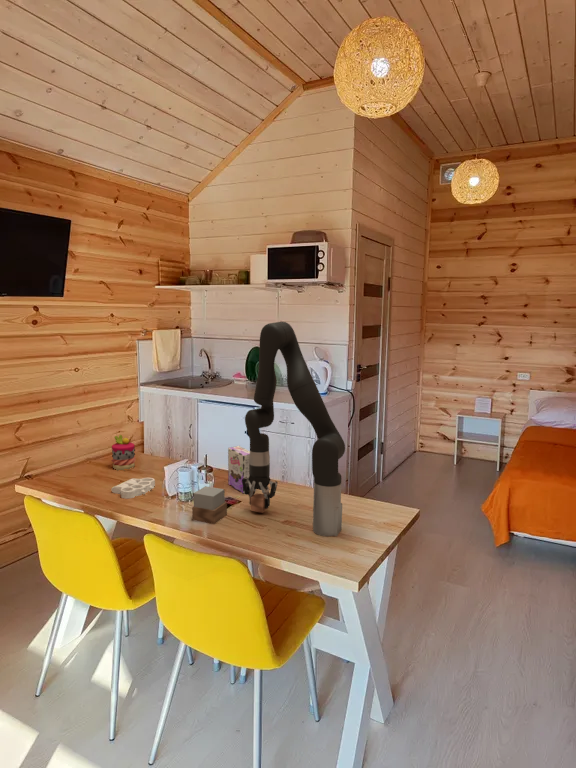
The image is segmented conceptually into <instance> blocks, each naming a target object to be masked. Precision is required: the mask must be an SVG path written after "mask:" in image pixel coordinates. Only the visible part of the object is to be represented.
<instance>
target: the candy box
mask: <svg viewBox="0 0 576 768" xmlns="http://www.w3.org/2000/svg"><path fill="white" fill-rule="evenodd" d="M227 451H228V452H227V453H228V455H227V459H228V460H227V461H228V462H227V463H228V464H227V465H228V466H227V467H228V468H227V469H228V471H227V472H228V473H227V475H228V477H227V480H228V481H227V482H228V483H227V484H228V485H229V486H230V485H231V487H232V488H233V489H236V490H237V491H238V492H240V493H241V492H242V493H241V494H243V493H244V488H243V484H242V479H243V478H245V477H247V478H249V476H250V474H249V454H250V450H248V449H246V448H244V447H242V446H241V445H237V446H231V447H228V449H227ZM251 486H252V485H251V483H250V481H249V487H250V489H251ZM244 494H245V493H244Z"/></svg>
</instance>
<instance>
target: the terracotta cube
mask: <svg viewBox="0 0 576 768" xmlns="http://www.w3.org/2000/svg"><path fill="white" fill-rule="evenodd" d="M269 507H270V506H269ZM269 507H268V508H267V509H265V497H264V494H263V493H259V492H258V493H257V492H255V494H254V495H253V496H252V497H251V505H250V511H251V512H258V513H263V514H264V512H266V511H267V510H268V509H269Z"/></svg>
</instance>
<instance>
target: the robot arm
mask: <svg viewBox="0 0 576 768" xmlns="http://www.w3.org/2000/svg"><path fill="white" fill-rule="evenodd" d="M260 331H261V332H260V335H259V347H258V348H259V352H258V354H259V355H258V373H257V377H256V378H257V379H256V380H257V381H256V384H255V389H254V395H253V401H254V403H255V404H256V405H259V406H261V407H260V408H254V409H249V410H248V411H247V412H246V413H245V415H244V423H245V424H244V425H245V426H246V427H245V428H246V431H247V435H248V438H249V451H250V454H249V474H250V476H249V478H247V477H245V478H243V479H242V484H243V488H244V494H245V495H248V497H249V505H250V506H251V497H252V496H253V495H255V494H256V491H257V490H260V491H261V494H264V497H265V509H267V508H268V507H270V506H271V504H270V503H271V499H272V498H273V497H275V496H276V493H277V487H278V481H273V480H271V477H270V475H271V474H270V473H271V472H270V471H271V468H270V466H271V462H270V461H271V460H270V459H271V455H270V437H269V435H268V434H266V433H262V432H260V429H261V428H268V427H270V426H271V425H272V424H273V422H274V420H275V408H274V399H275V393H276V390H277V374H276V370H275V361H276V356H277V354H278V351H280V353H281V355H282V358H283V359H284V362H285V365H286V384H287V389H288V391H289V393H290V396H291V399H292V402H294V405H295V407H296V408H297V409H298V411H299V412H300V413H301V414H302V415H303V416H304V417H305V419H306V420H307V421H308V422H309V424H310V425H311V426H312V428H313V431H314V432H315V434H316V437H317V439H316V441H314V443H313V445H312V448H311V449H312V450H311V470H312V476H313V506H312V507H313V511H312V531H313V533H315V534H316V535H318V536H323V537H337V536H338V535H339V534H340V533H341V531H342V528H343V527H342V526H343V525H342V524H343V503H342V501H341V500H342V475H341V473H340V472H339V460H340V459H341V458H342V457H343V456H344V454H345V451H346V445H345V441H344V439H343V437H342V435H341V433H340V432H339V430H338V429H337V427H336V425H335V423H334V422H333V419H332V418H331V416H330V413H329V411H328V409H327V406H326V404H325V402H324V401H323V398H322V396H321V393H320V391H319V389H318V386H317V384H316V382H315V380H314V378H313V376H312V374H311V372H310V369H309V367H308V364H307V363H306V362H307V361H306V360H305V358H304V356H303V353H302V351H301V347H300V344H299V341H298V338H297V335H296V333H295V330H294V328H293V327H292V326H291V324H290V323H288V322H286V321H277V322H270V323H267V324H265V325H264V326H263V327H262V329H261V330H260ZM249 481H250V483H251V485H252V486H251V489H250V487H249ZM269 486H270V487H269ZM268 509H269V508H268ZM268 509H267V510H268Z"/></svg>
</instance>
